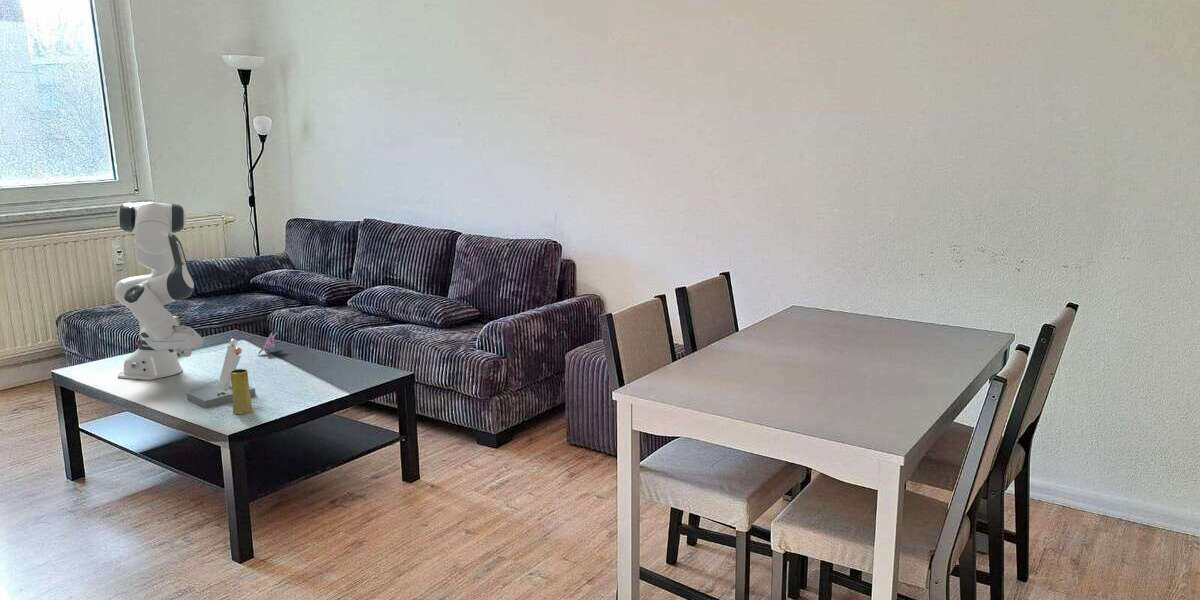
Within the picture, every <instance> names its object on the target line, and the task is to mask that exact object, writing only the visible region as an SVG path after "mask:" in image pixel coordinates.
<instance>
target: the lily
mask: <svg viewBox="0 0 1200 600" xmlns="http://www.w3.org/2000/svg"><path fill="white" fill-rule="evenodd" d="M277 334H278V331H276V332H275V333H274V334H273V332H271V333H270V334H269V336H268V337H267V339H266V340H265V342H264V343H265V344H264V345H263V347H262V348H261V349H260V350H259V353H258V354H257V356H259V355H260V354H261V353H262V352H263V351H264V352H265V353H266V352H267V350H268V349H269V348H275V350H276V351H277V352H278V353H279V354H281V352H280V350H279V349H278V348H277V346H275V344H274V339H275V336H276V335H277Z"/></svg>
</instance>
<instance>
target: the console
mask: <svg viewBox="0 0 1200 600" xmlns="http://www.w3.org/2000/svg"><path fill="white" fill-rule="evenodd" d="M219 385H220V384H218V385H217V384H216V385H214V386H208V387H206V388H202V389H197V390H194V391H189V392H186V399H187V401H190V402H192V403H194V404H196V405H199V406H200V407H202V408H205V409H207V408H211V407H216V406H219V405H222V404H226V403H231V402H233V393H232V384H231V383H230V386H229V388H228V391H223V390H221V389H219ZM249 390H250V397H254V396H256V394H257V393H256V388H255V387H252V386H250V385H249Z"/></svg>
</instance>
